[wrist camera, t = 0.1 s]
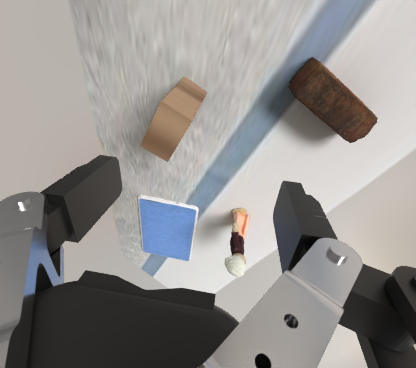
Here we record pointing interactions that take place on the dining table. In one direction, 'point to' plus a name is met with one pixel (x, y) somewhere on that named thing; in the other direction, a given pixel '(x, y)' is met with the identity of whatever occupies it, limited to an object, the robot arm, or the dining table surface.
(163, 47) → the dining table surface
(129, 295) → the robot arm
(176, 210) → the tablet computer
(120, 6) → the dining table surface
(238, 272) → the grandmother figurine
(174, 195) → the dining table surface
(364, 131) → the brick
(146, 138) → the marked cardboard box
